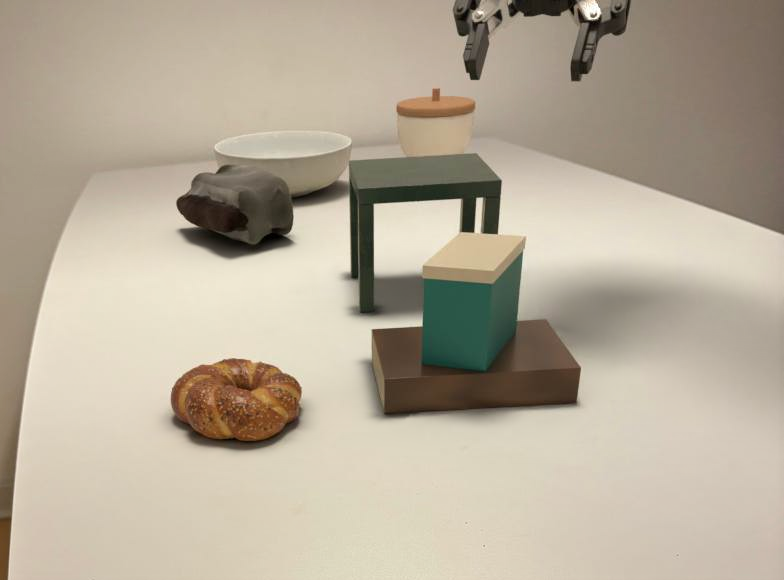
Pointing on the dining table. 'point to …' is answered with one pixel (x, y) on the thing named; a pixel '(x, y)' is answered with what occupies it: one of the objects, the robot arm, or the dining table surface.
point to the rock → (239, 203)
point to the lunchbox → (471, 300)
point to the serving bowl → (290, 156)
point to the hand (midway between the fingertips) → (523, 74)
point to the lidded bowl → (435, 124)
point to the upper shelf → (412, 184)
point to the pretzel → (236, 399)
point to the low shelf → (475, 373)
